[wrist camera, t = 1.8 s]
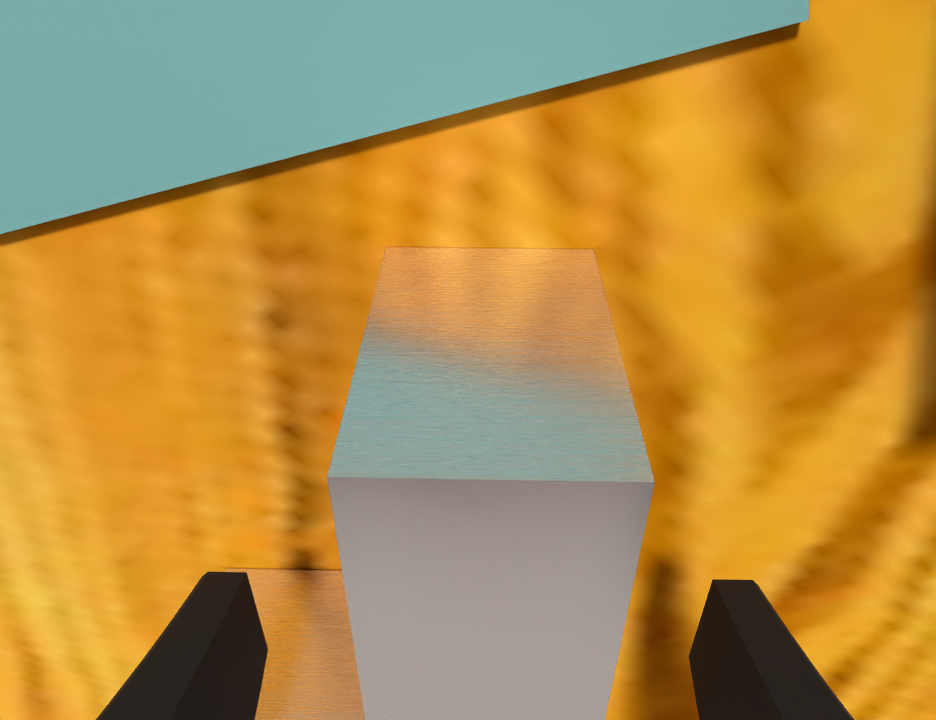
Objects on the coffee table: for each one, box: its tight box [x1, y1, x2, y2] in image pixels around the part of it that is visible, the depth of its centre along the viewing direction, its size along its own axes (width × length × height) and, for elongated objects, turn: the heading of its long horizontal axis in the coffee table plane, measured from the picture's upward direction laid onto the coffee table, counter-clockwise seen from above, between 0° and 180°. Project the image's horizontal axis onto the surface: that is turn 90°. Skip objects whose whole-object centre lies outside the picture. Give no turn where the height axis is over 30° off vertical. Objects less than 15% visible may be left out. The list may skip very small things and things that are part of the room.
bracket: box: [226, 247, 655, 720], centre depth 12 cm, size 11×7×5 cm, turn 0°
